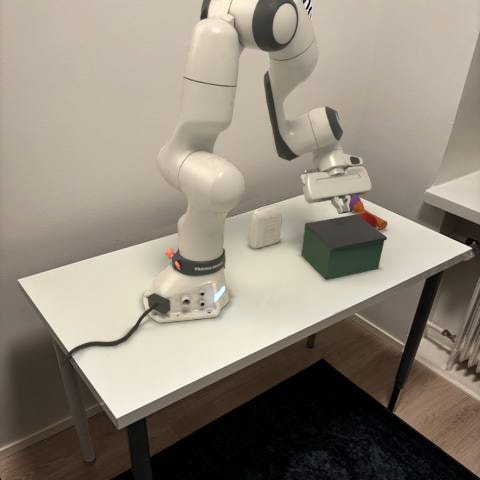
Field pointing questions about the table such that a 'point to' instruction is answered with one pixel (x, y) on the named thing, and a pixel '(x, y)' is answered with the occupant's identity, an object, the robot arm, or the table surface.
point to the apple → (368, 218)
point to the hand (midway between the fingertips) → (344, 212)
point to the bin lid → (345, 232)
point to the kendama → (358, 206)
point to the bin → (340, 257)
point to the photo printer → (265, 226)
